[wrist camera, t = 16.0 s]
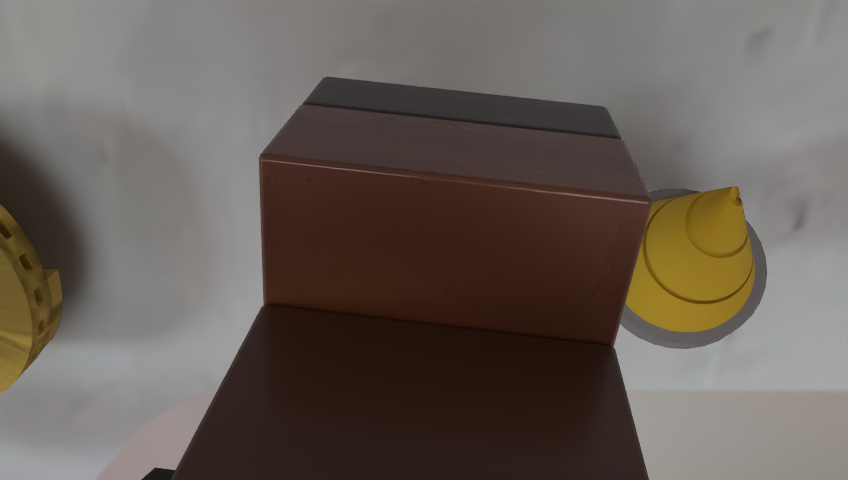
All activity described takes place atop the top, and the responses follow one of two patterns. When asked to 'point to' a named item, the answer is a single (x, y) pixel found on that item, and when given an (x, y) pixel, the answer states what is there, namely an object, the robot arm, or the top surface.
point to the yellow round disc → (24, 302)
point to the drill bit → (694, 270)
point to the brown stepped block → (435, 295)
